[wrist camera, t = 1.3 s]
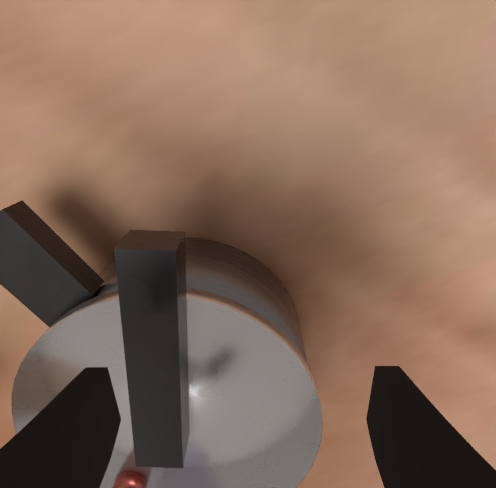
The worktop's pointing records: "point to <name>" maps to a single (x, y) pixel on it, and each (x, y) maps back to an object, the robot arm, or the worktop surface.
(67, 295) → the cooker pot
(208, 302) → the cooker lid
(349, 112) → the worktop surface
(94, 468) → the robot arm
